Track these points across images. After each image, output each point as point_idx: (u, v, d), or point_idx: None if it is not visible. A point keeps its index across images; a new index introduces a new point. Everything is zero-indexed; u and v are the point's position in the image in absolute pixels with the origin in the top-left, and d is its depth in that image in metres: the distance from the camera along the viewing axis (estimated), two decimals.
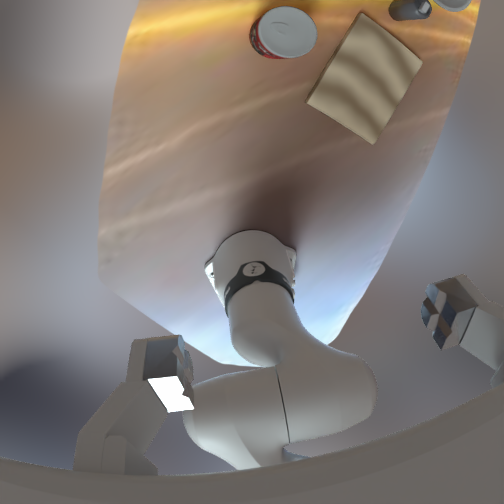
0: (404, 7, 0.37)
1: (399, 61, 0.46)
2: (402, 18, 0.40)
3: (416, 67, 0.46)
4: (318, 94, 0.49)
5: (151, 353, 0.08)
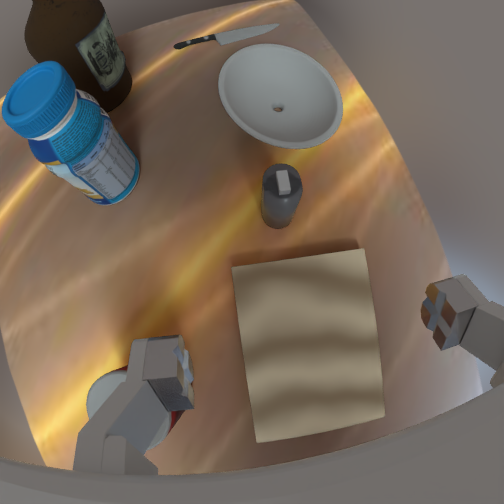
0: (266, 207, 0.32)
1: (333, 283, 0.35)
2: (284, 221, 0.35)
3: (361, 265, 0.35)
4: (262, 423, 0.32)
5: (151, 353, 0.08)
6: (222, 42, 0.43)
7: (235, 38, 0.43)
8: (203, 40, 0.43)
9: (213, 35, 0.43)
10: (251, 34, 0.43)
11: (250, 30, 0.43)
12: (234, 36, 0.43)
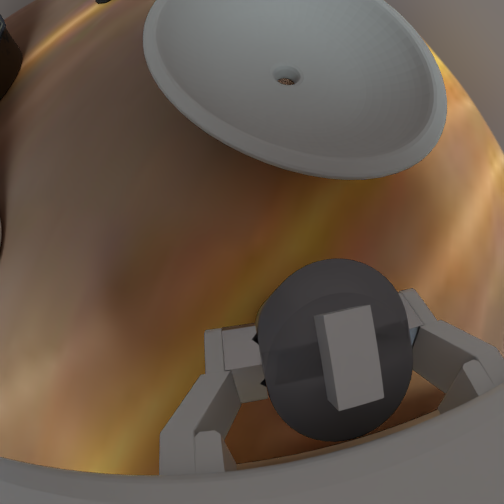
0: None
1: None
2: None
3: None
4: None
5: (229, 342, 0.08)
6: None
7: None
8: None
9: None
10: None
11: None
12: None
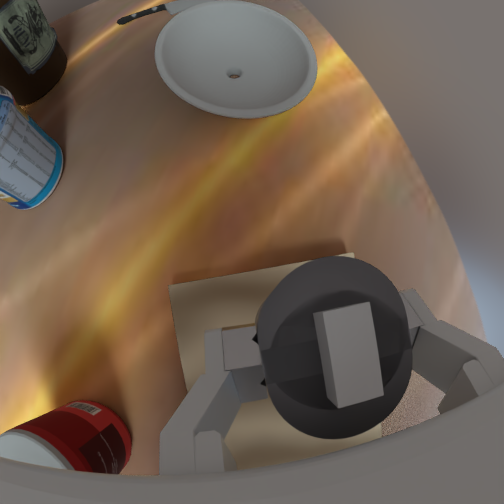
0: None
1: None
2: None
3: None
4: None
5: (229, 342, 0.08)
6: (173, 11, 0.32)
7: (189, 6, 0.33)
8: (151, 11, 0.32)
9: (163, 5, 0.32)
10: (208, 0, 0.33)
11: None
12: (187, 4, 0.33)
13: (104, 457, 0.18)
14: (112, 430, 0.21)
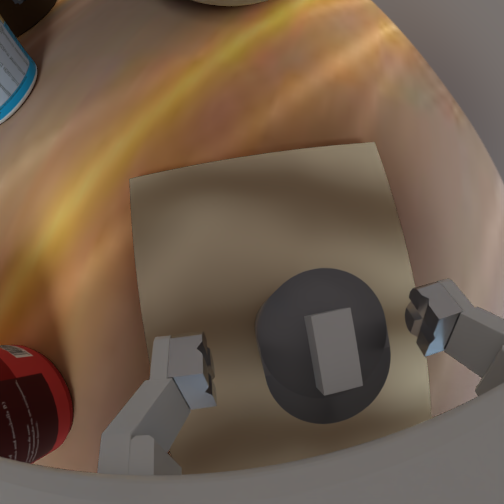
0: None
1: (323, 200, 0.18)
2: None
3: (374, 169, 0.18)
4: None
5: (175, 350, 0.08)
6: None
7: None
8: None
9: None
10: None
11: None
12: None
13: (12, 412, 0.10)
14: (39, 381, 0.14)
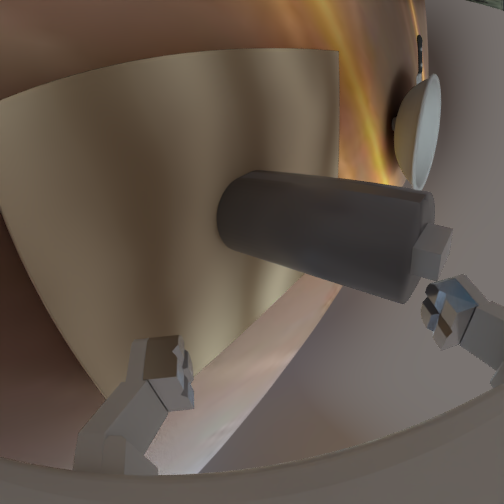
0: (337, 205, 0.10)
1: None
2: (270, 249, 0.12)
3: None
4: (55, 112, 0.07)
5: (151, 353, 0.08)
6: (418, 79, 0.41)
7: None
8: (420, 62, 0.40)
9: (421, 71, 0.41)
10: None
11: None
12: None
13: None
14: None
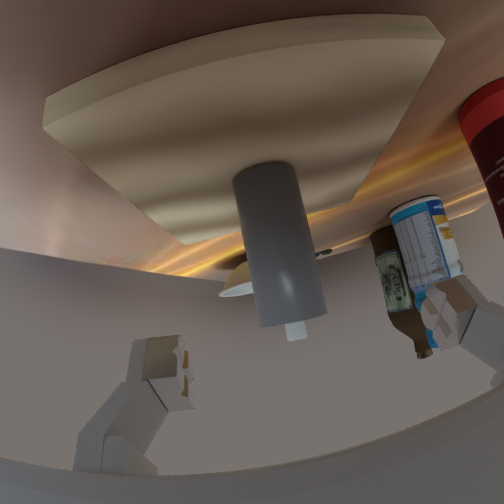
0: (314, 263, 0.16)
1: (227, 222, 0.25)
2: (268, 219, 0.16)
3: (186, 238, 0.27)
4: (409, 75, 0.11)
5: (151, 353, 0.08)
6: None
7: None
8: None
9: None
10: None
11: None
12: None
13: (499, 195, 0.15)
14: (474, 153, 0.17)
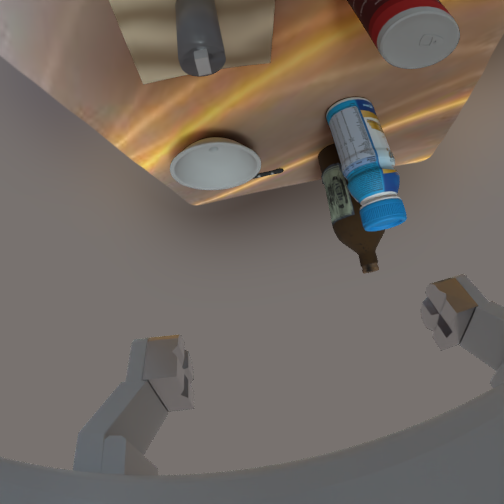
0: (216, 25, 0.21)
1: (174, 57, 0.30)
2: (190, 5, 0.21)
3: (144, 73, 0.31)
4: None
5: (151, 353, 0.08)
6: None
7: None
8: (261, 174, 0.68)
9: None
10: None
11: None
12: None
13: (359, 9, 0.21)
14: None
